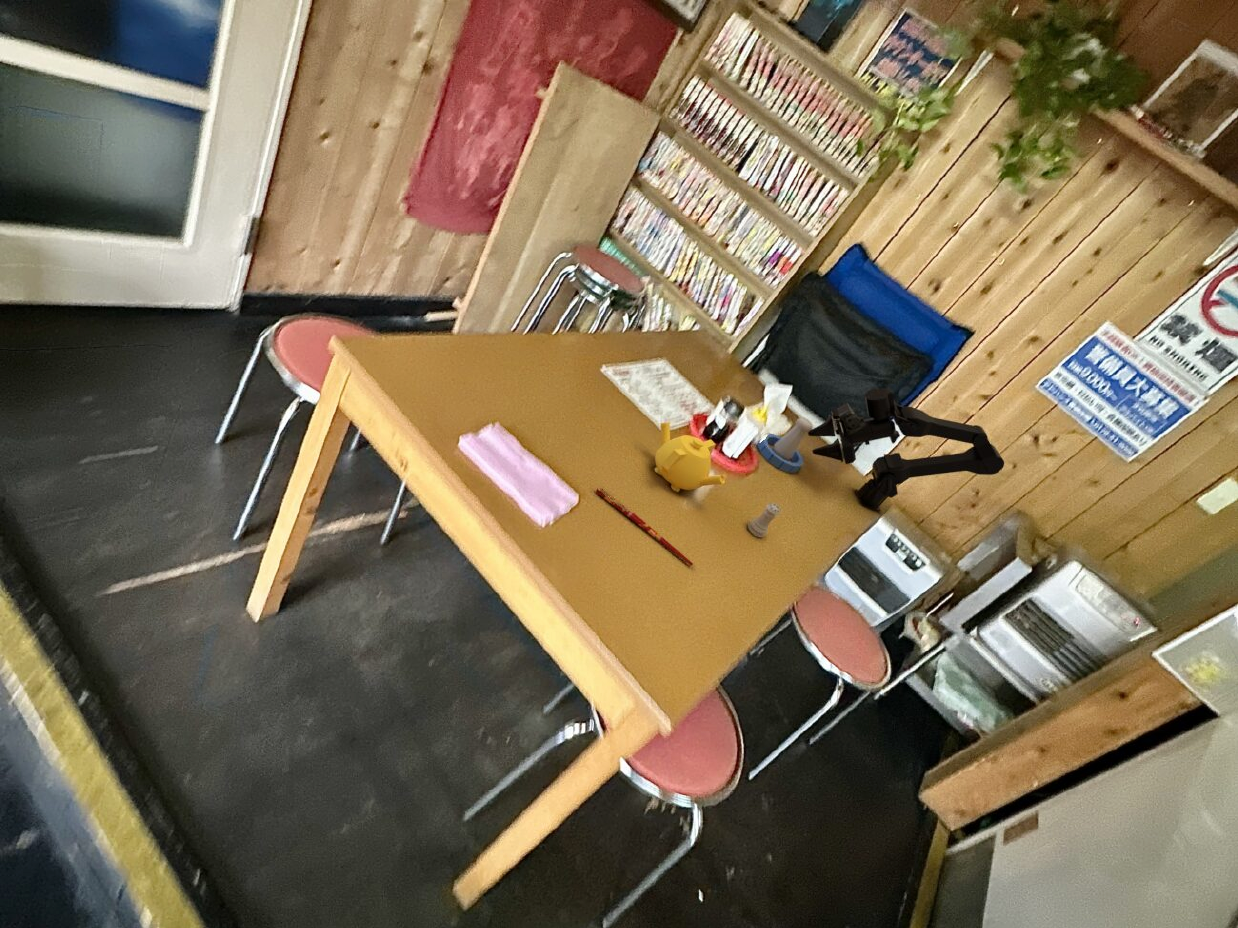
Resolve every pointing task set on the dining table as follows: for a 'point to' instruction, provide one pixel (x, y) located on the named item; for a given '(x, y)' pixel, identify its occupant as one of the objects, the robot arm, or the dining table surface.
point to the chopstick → (644, 526)
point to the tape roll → (776, 459)
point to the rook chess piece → (763, 520)
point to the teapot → (685, 461)
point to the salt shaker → (792, 439)
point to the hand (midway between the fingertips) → (810, 442)
